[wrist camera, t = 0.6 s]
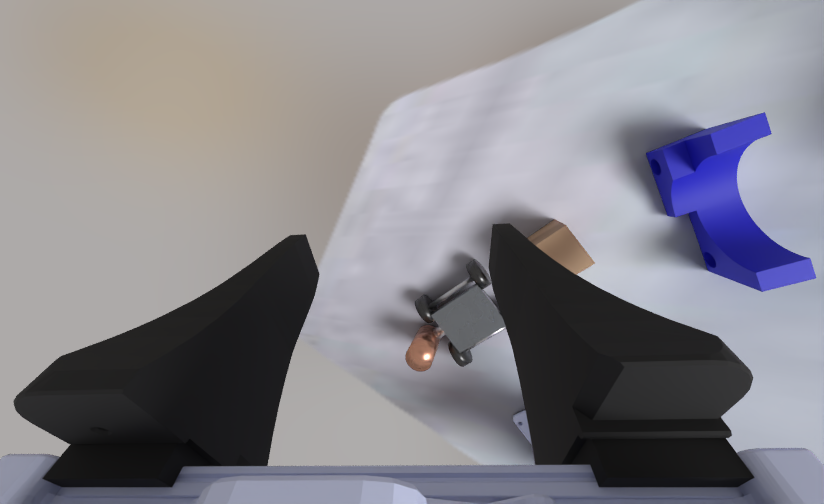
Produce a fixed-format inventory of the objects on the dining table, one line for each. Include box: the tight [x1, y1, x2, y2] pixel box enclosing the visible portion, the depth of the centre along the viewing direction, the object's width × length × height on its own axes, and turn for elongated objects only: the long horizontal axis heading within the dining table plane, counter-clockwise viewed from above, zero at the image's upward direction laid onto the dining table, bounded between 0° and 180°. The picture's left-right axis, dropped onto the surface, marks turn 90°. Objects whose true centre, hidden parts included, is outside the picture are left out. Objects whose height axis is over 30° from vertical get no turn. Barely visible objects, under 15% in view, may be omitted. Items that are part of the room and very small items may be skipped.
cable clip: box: [646, 112, 816, 292], centre depth 24 cm, size 12×4×6 cm, turn 24°
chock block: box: [527, 219, 595, 274], centre depth 28 cm, size 4×5×5 cm
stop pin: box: [406, 325, 445, 371], centre depth 32 cm, size 3×8×5 cm, turn 129°
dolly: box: [415, 259, 506, 367], centre depth 32 cm, size 9×8×3 cm
